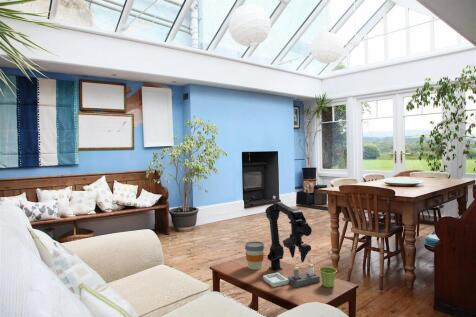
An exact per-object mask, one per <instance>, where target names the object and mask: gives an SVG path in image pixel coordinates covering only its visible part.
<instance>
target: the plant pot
mask: <svg viewBox="0 0 476 317" xmlns="http://www.w3.org/2000/svg"><path fill="white" fill-rule="evenodd" d="M318 270H319V273H320V279H321V282H322V283H321V284H322V286H323V287H324V288H333V287H334V286H335V279H336V278H335V277H336V273H337V272H338V270H337V269H336V268H335V267H331V266H323V267H322V266H321V267H320V268H318Z"/></svg>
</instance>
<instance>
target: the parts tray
mask: <svg viewBox="0 0 476 317" xmlns="http://www.w3.org/2000/svg"><path fill="white" fill-rule="evenodd" d="M262 280H263V281H264V282H266V283H267V284H268V285H270V286H271V287H272V288H275V287H281V286H283V285H288V284H290V283H289V280H288V277H285V276H284V275H282V273H279V272H274V273H273V272H272V273H268V274H263V275H262Z"/></svg>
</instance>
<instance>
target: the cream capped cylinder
mask: <svg viewBox="0 0 476 317" xmlns="http://www.w3.org/2000/svg"><path fill="white" fill-rule="evenodd" d="M299 274H300V267H299V266H293V276H294V280H299Z"/></svg>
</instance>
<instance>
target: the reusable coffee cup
mask: <svg viewBox="0 0 476 317" xmlns="http://www.w3.org/2000/svg"><path fill="white" fill-rule="evenodd" d="M244 247H245V248H244V249H245V257H246V258H245V259H246V261H247V266H248V269H250V270H261V269H262V268H263V261H264V256H265V252H264V250H265V243H264V242H261V241H249V242H245V244H244Z"/></svg>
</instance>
